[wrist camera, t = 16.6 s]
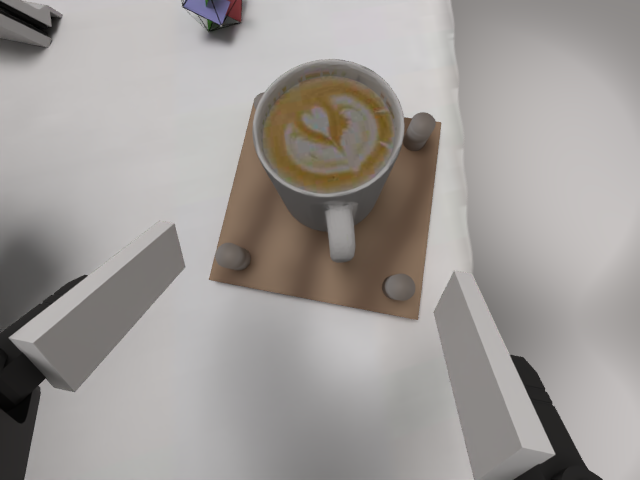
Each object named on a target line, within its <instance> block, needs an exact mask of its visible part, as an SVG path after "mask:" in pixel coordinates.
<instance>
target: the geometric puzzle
mask: <svg viewBox="0 0 640 480" xmlns="http://www.w3.org/2000/svg"><path fill="white" fill-rule="evenodd" d="M183 1H184V0H183ZM182 8H185V9H187V10H189V11H191V12H194V13H196V14H197V15H200V16H202V17H204V18H206V19H207V21H208V29H207V28H205V29H206V30H207V31H208V30H209V31H213V30H214V29H212V30H210V28H211V26H212V23H213V22H214V23H216V24H218V25H220V26H221V27H222V26H224V25H222V24H223V23H224V21H225V19H226V18H225V15H227V16H229V17H231V18H233V19H235V20H237V21H239V22H240V23H242V22H241V12H242V0H185V2H184V4H183V5H182ZM187 10H186V11H187ZM187 12H188V11H187ZM188 13H189V12H188ZM189 14H190V13H189ZM190 15H191V14H190ZM227 16H226V17H227ZM199 18H200V17H199ZM224 18H225V19H224ZM200 20H201V19H200ZM223 20H224V21H223ZM201 21H202V20H201ZM202 23H203V22H202ZM203 24H204V23H203ZM235 24H238V23H234V24H233V25H235ZM228 25H230V26H231V24H228ZM204 26H205V25H204ZM220 26H219V27H220ZM205 27H206V26H205ZM226 27H228V26H226ZM217 28H218V27H217ZM222 28H224V27H222ZM219 29H220V28H219ZM215 30H217V29H216V28H215ZM209 31H208V32H209Z"/></svg>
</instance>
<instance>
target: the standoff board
mask: <svg viewBox="0 0 640 480" xmlns="http://www.w3.org/2000/svg"><path fill="white" fill-rule="evenodd" d="M263 94H264V93H260V94H259V95H257V96H256V98H255V99H254V103H253V107H252V111H251V115H250V119H249V123H248V127H247V131H246V135H245V139H244V143H243V146H242V150H241V154H240V158H239V162H238V166H237V170H236V174H235V178H234V182H233V186H232V190H231V194H230V198H229V202H228V206H227V210H226V214H225V218H224V222H223V226H222V230H221V234H220V238H219V242H218V246H217V250H216V253H215V257H214V261H213V265H212V269H211V273H210V277H209V280H213V281H218V282H223V283H228V284H233V285H239V286H244V287H249V288H254V289H259V290H265V291H270V292H275V293H280V294H285V295H291V296H296V297H301V298H306V299H311V300H317V301H322V302H327V303H332V304H338V305H343V306H348V307H353V308H358V309H364V310H369V311H374V312H379V313H384V314H390V315H395V316H400V317H405V318H410V319H416V320H418V315H419V306H420V298H421V289H422V281H423V273H424V264H425V256H426V247H427V239H428V230H429V222H430V214H431V205H432V197H433V188H434V180H435V172H436V163H437V155H438V146H439V138H440V130H441V122H435V119H434V118H433V117H432V116H431V115H430V114H428V113H418V114H416V115H415V116H414V117H413V118H404V124H405V125H404V138H403V142H402V147H401V150H400V152H399V155H398V157H397V159H396V161H395V163H394V165H393V168H392V170H391V172H390V174H389V176H388V178H387V180H386V182H385V184H384V186H383V189H382V191H381V193H380V195H379V197H378V199H377V201H376V203H375V205H374V207H373V209H372V210H371V212H370V213H369V214H368V215H367V216H366V217H365V218H364V219H363V220H362V221H361V222H359V223H358V224H356V225H354V233H355V253H354V257H353V258H352V259H351V260H350V261H347V262H339V263H337V262H334V261H332V259H331V257H330V247H329V238H328V232H327V231H319V230H315V229H312V228H309V227H307V226H305V225H303V224H302V223H300V222H299V221H298V220H296V219H295V218H294V217H293V216H292V214H291V213H290V212H289V210H288V209H287V207H286V206H285V204H284V202H283V200H282V199H281V197H280V195H279V193H278V192H277V190H276V188H275V187H274V185H273V183H272V181H271V180H270V178H269V176H268V174H267V173H266V171H265V169H264V167H263V166H262V164H261V162H260V160H259V158H258V155H257V153H256V150H255V146H254V142H253V133H252V131H253V120H254V115H255V111H256V109H257V106H258V103H259V101H260V99H261V98H262V96H263Z"/></svg>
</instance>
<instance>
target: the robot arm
mask: <svg viewBox="0 0 640 480" xmlns="http://www.w3.org/2000/svg"><path fill="white" fill-rule="evenodd" d="M184 268H185V263H184V260H183V256H182V252H181V248H180V244H179V240H178V236H177V232H176V228H175V224H174V223H170V222H164V221H158V222H157V223H156V224H154V225H153V226H152V227H151V228H149V229H148V230H147V231H145V232H144V233H143V234H142V235H140V236H139V237H138V238H136V239H135V240H134V241H133V242H131V243H130V244H129V245H127V246H126V247H125V248H124V249H122V250H121V251H120V252H118V253H117V254H116V255H114V256H113V257H112V258H111V259H109V260H108V261H107V262H105V263H104V264H103V265H102V266H100V267H99V268H98V269H96V270H95V271H94V272H93V273H91V274H90V275H89V276H88V275H83V276H81V277H79V278H77V279H75V280H73V281H71V282H69V283H67V284H66V285H64V286H63V287H62V288H60V289H59V290H58V291H56V292H55V293H54V295H51V296H50V297H48V298H47V299H46V300H44V301H43V303H42V304H39V305H38V306H36V307H35V308H34V309H32V310H31V311H30V312H28V313H27V314H26V315H24V316H23V317H22V318H20V319H19V320H18V321H16V322H15V323H14V324H12V325H11V326H10V327H8V328H7V329H5V330H4V331H3V332H1V333H0V480H24V477H25V472H26V467H27V462H28V457H29V451H30V446H31V441H32V436H33V431H34V425H35V420H36V415H37V410H38V405H39V400H40V394H41V392H40V387H39V386H38V385H39V384H40V383H41V382H42V381H43V380H44V379H45V378H46V379H47V380H48V381H49V382H50V384H51V385H52V386H53V387H54V388H59V389H63V390H68V391H72V392H75V391H76V390H77V389H78V388H79V387H80V386H81V385H82V383H83V382H84V381H85V380H86V379H87V378H88V377H89V375H90V374H91V373H92V372H93V371H94V370H95V369H96V368H97V366H98V365H99V364H100V363H101V362H102V361H103V360H104V359H105V357H106V356H107V355H108V354H109V353H110V352H111V351H112V349H113V348H114V347H115V346H116V345H117V344H118V343H119V342H120V340H121V339H122V338H123V337H124V336H125V335H126V334H127V332H128V331H129V330H130V329H131V328H132V327H133V326H134V325H135V323H136V322H137V321H138V320H139V319H140V318H141V317H142V315H143V314H144V313H145V312H146V311H147V310H148V309H149V308H150V306H151V305H152V304H153V303H154V302H155V301H156V300H157V298H158V297H159V296H160V295H161V294H162V293H163V292H164V291H165V289H166V288H167V287H168V286H169V285H170V284H171V283H172V282H173V280H174V279H175V278H176V277H177V276H178V275H179V274H180V272H181V271H182V270H183V269H184ZM434 316H435V320H436V324H437V328H438V332H439V336H440V340H441V345H442V349H443V353H444V357H445V361H446V365H447V369H448V373H449V378H450V382H451V386H452V390H453V394H454V398H455V402H456V406H457V411H458V415H459V419H460V423H461V427H462V431H463V435H464V439H465V444H466V448H467V452H468V456H469V460H470V464H471V468H472V472H473V477H474V480H603V479H601V478H600V477H599V476H597V475H596V474H594V473H593V472H591V471H589V470H588V468H587V467H586V465H585V463H584V462H583V460H582V458H581V456H580V455H579V453H578V451H577V449H576V447H575V445H574V443H573V441H572V439H571V437H570V435H569V433H568V431H567V430H566V428H565V426H564V424H563V422H562V420H561V418H560V416H559V414H558V412H557V410H556V409H555V407H554V406H553V405H552V401H551V399H550V397H549V395H548V393H547V392H545V387H544V386H543V384H542V382H541V380H540V378H539V376H538V374H537V372H536V371H535V370H534V369H533V368H532V367H531V365H530V364H529V363H528V362H527V361H526V360H525V359H524V358H523V357H519V356H514V355H509V353H508V350H507V348H506V346H505V344H504V342H503V340H502V337H501V335H500V333H499V331H498V329H497V327H496V325H495V322H494V320H493V318H492V316H491V314H490V311H489V310H488V307H487V305H486V303H485V301H484V298H483V296H482V294H481V292H480V290H479V288H478V285H477V283H476V281H475V279H474V277H473V275H472V273H466V272H460V271H454V272H453V274H452V276H451V278H450V280H449V282H448V284H447V286H446V288H445V290H444V292H443V294H442V296H441V298H440V300H439V302H438V304H437V306H436V308H435V310H434Z"/></svg>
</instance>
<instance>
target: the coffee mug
mask: <svg viewBox="0 0 640 480" xmlns="http://www.w3.org/2000/svg"><path fill="white" fill-rule="evenodd" d="M404 125H405V124H404V116H403V111H402V108H401V105H400V102H399V100H398V98H397V96H396V94H395V93H394V91H393V90H392V88H391V87H390V86H389V85H388V83H387V82H386V81H385V80H384V79H383V78H381V77H380V76H379V75H378V74H376V73H375V72H374V71H372V70H370V69H368V68H366V67H364V66H362V65H359V64H357V63H354V62H349V61H345V60H337V59H325V60H316V61H311V62H308V63H305V64H301V65H299V66H297V67H295V68H292V69H290V70H289V71H287V72H286V73H284V74H283V75H281V76H280V77H279V78H278V79H276V80H275V81H274V82H273V83H272V84H271V85H270V86H269V87H268V89H267V90H266V91H265V92H264V94H263V96H262V98H261V99H260V101H259V103H258V106H257V109H256V111H255V115H254V120H253V131H252V133H253V142H254V146H255V150H256V153H257V155H258V158H259V160H260V162H261V164H262V166H263V167H264V169H265V171H266V173H267V174H268V176H269V178H270V180H271V181H272V183H273V185H274V187H275V188H276V190H277V192H278V193H279V195H280V197H281V199H282V200H283V202H284V204H285V206H286V207H287V209H288V210H289V212H290V213H291V214H292V216H293V217H294V218H295V219H296V220H298V221H299V222H300V223H302V224H303V225H305V226H307V227H309V228H312V229H315V230H319V231H327V232H328V238H329V247H330V257H331V259H332V261H334V262H337V263H339V262H347V261H350V260H351V259H352V258H353V257H354V253H355V233H354V225H356V224H358V223H359V222H361V221H362V220H363V219H364V218H365V217H366V216H367V215H368V214H369V213H370V212H371V210H372V209H373V207H374V205H375V203H376V201H377V199H378V197H379V195H380V193H381V191H382V189H383V186H384V184H385V182H386V180H387V178H388V176H389V174H390V172H391V170H392V168H393V165H394V163H395V161H396V159H397V157H398V155H399V152H400V150H401V147H402V142H403V138H404Z"/></svg>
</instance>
